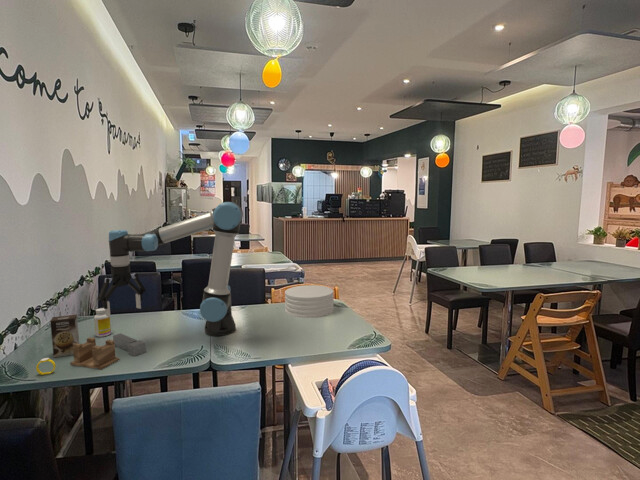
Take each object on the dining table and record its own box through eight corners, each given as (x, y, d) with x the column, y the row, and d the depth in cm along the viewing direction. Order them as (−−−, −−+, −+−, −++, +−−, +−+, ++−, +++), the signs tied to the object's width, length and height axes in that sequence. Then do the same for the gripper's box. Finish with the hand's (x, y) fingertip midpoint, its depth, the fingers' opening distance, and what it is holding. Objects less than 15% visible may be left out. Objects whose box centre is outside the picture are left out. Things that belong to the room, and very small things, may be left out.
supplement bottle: (114, 333, 192) (112, 308, 191) (101, 338, 186) (99, 312, 185) (105, 331, 195) (103, 306, 193) (92, 336, 189) (90, 310, 187)
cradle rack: (119, 360, 161) (118, 340, 160) (101, 369, 152) (99, 348, 151) (89, 355, 166) (87, 336, 165) (70, 364, 157) (68, 344, 156)
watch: (36, 377, 148) (33, 362, 147) (39, 373, 150) (36, 359, 149) (54, 373, 149) (52, 358, 149) (57, 370, 152) (54, 356, 151)
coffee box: (53, 358, 164) (49, 321, 162) (56, 352, 170) (52, 316, 168) (78, 354, 168) (74, 317, 166) (80, 348, 174) (77, 313, 172)
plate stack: (291, 302, 242) (290, 284, 240) (335, 304, 238) (335, 285, 236) (280, 317, 214) (279, 296, 213) (330, 318, 210) (330, 298, 209)
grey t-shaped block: (146, 352, 169) (145, 342, 168) (133, 356, 164) (133, 346, 164) (123, 341, 181) (122, 332, 180) (111, 345, 177) (110, 336, 176)
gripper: (143, 260, 183) (146, 303, 186) (86, 268, 164) (90, 317, 166) (151, 261, 179) (154, 306, 181) (94, 270, 159) (98, 320, 162)
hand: (123, 311), depth 174 cm, fingers open, 13 cm apart
